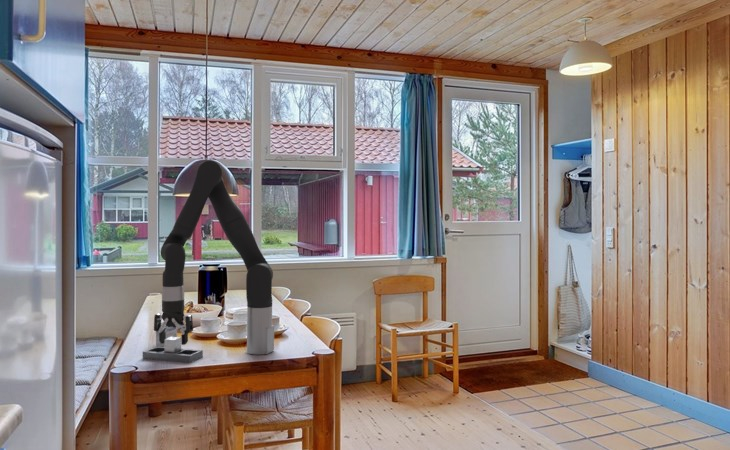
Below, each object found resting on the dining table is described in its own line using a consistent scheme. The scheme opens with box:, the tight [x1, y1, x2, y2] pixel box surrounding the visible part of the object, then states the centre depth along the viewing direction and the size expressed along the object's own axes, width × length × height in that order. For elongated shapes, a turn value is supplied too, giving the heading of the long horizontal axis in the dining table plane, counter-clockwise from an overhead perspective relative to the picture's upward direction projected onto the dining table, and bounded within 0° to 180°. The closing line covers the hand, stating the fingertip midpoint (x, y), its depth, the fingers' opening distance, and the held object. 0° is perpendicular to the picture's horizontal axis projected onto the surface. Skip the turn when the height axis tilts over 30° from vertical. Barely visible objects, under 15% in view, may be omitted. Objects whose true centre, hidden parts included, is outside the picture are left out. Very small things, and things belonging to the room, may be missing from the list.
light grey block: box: [164, 336, 182, 354], centre depth 184 cm, size 4×4×7 cm
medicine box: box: [155, 321, 178, 347], centre depth 203 cm, size 8×4×9 cm, turn 169°
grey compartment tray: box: [142, 346, 204, 364], centre depth 184 cm, size 19×8×2 cm, turn 76°
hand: (173, 343), depth 183 cm, fingers open, 8 cm apart
